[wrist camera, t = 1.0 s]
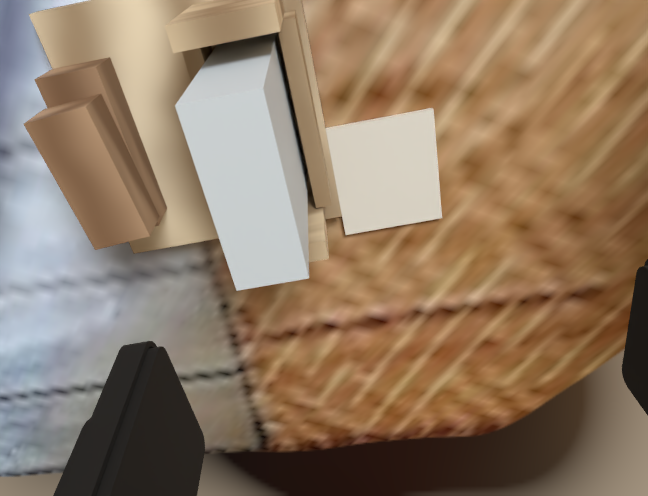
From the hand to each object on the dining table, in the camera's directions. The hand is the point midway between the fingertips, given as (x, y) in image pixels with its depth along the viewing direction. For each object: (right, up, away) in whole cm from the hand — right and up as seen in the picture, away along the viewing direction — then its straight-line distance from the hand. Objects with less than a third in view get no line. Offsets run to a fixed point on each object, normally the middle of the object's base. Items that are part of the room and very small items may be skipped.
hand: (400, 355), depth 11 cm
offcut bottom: (-15, +9, +23) cm, 29 cm away
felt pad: (+3, +7, +26) cm, 27 cm away
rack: (-9, +10, +24) cm, 27 cm away
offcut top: (-15, +7, +21) cm, 27 cm away
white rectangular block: (-5, +10, +22) cm, 25 cm away
